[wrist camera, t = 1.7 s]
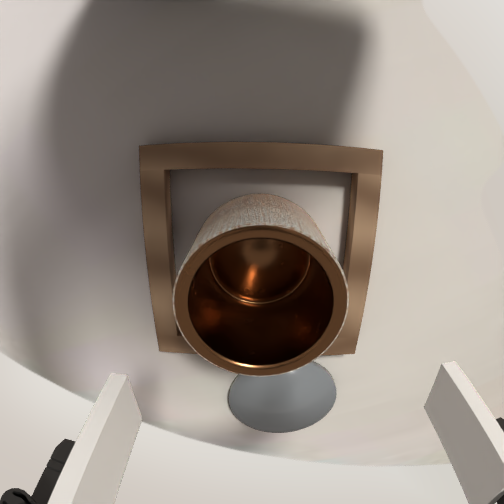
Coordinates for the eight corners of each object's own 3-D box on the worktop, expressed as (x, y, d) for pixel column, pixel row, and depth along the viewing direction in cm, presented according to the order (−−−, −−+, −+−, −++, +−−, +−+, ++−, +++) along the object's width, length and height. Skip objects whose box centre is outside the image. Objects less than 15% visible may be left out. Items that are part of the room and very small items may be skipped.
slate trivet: (227, 355, 31) (227, 360, 31) (343, 354, 31) (344, 359, 31) (230, 427, 36) (230, 432, 35) (326, 425, 35) (327, 430, 35)
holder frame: (146, 145, 25) (139, 145, 23) (375, 149, 24) (383, 150, 23) (163, 340, 31) (159, 351, 29) (350, 343, 31) (354, 353, 29)
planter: (181, 209, 26) (144, 247, 17) (308, 178, 25) (337, 200, 16) (217, 319, 30) (203, 388, 21) (330, 294, 29) (357, 359, 20)
